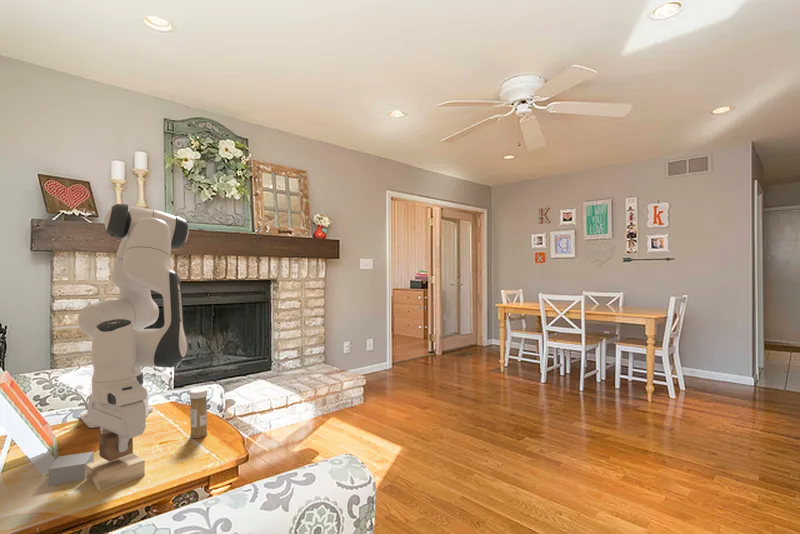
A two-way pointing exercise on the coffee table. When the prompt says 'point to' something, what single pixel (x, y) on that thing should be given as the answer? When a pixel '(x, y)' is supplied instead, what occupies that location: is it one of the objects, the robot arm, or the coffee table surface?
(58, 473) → the grey block
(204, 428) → the sprinkles bottle
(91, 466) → the oak block
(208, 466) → the coffee table surface
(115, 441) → the walnut cube
